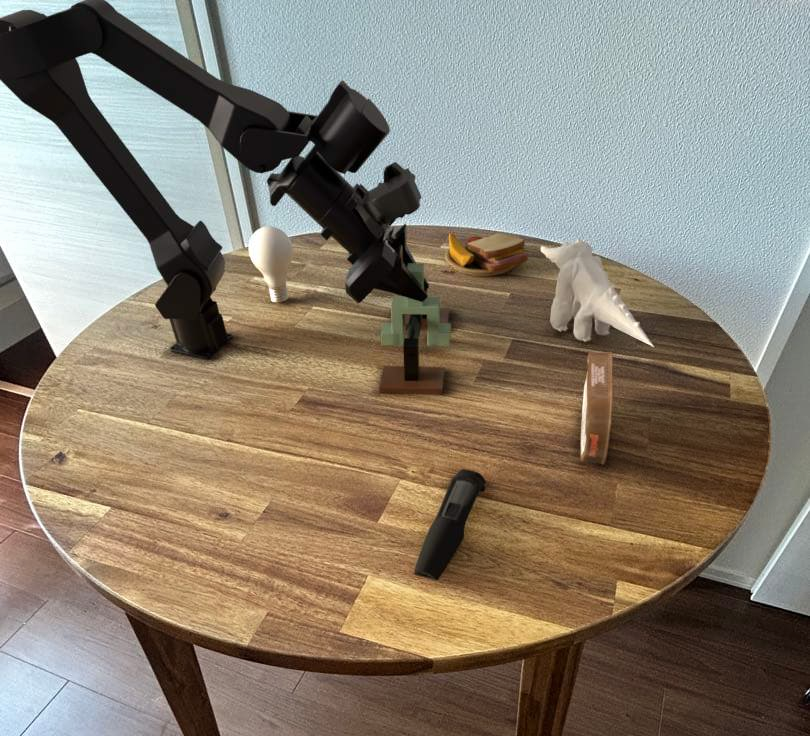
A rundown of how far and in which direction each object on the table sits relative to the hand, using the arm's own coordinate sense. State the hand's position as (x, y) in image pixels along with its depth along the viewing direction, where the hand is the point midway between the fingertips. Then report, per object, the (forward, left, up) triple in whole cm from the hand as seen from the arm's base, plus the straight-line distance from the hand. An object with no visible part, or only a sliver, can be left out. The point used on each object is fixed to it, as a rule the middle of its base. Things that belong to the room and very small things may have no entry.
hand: (425, 294), depth 83 cm
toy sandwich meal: (0, +29, -8) cm, 30 cm away
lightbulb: (-26, +6, -8) cm, 28 cm away
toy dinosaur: (+20, +11, -8) cm, 24 cm away
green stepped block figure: (-1, 0, -7) cm, 7 cm away
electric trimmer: (+15, -31, -8) cm, 36 cm away
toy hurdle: (-1, 0, -8) cm, 8 cm away
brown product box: (+25, -11, -8) cm, 28 cm away
